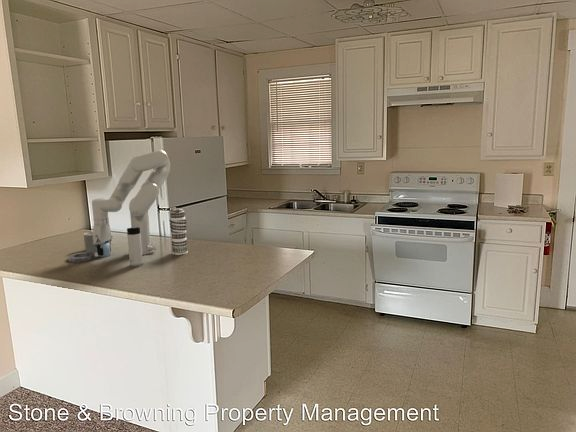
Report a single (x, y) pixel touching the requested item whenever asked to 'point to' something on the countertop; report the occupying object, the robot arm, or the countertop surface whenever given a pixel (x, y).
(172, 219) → the decorative candle
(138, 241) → the travel mug
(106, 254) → the pale blue rounded block
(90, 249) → the coffee mug
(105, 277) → the countertop surface
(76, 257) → the collar ring
